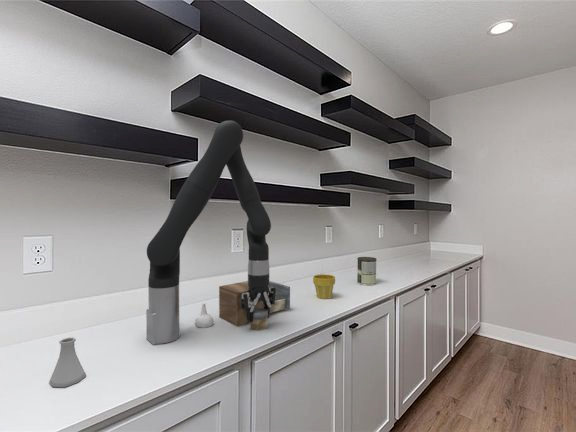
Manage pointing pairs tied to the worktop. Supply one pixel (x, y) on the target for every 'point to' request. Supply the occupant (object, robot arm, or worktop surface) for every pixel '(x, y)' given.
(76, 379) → the flask
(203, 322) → the garlic bulb
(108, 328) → the worktop surface
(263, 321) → the wooden block
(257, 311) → the disc
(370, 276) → the coffee can
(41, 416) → the worktop surface
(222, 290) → the housing
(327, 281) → the plant pot
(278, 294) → the drawer
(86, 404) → the worktop surface
